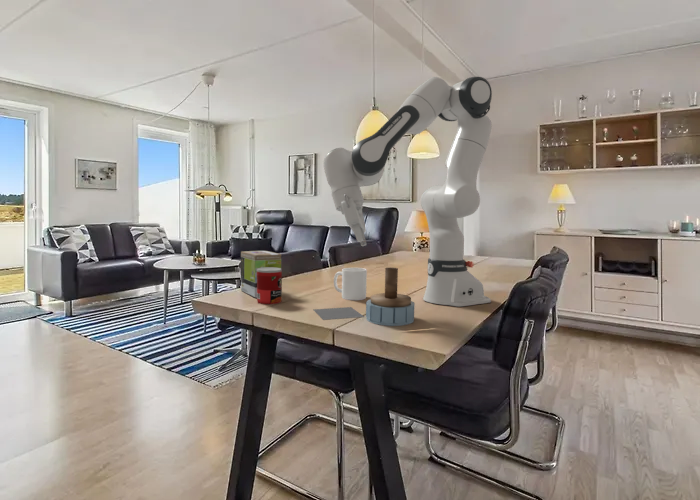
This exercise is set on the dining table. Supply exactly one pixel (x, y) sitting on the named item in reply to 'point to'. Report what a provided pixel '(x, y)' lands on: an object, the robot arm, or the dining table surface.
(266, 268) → the canned food
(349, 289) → the cup
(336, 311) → the mat
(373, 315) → the grey ridged ring
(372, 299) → the lid
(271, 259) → the tea box
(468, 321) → the dining table surface
